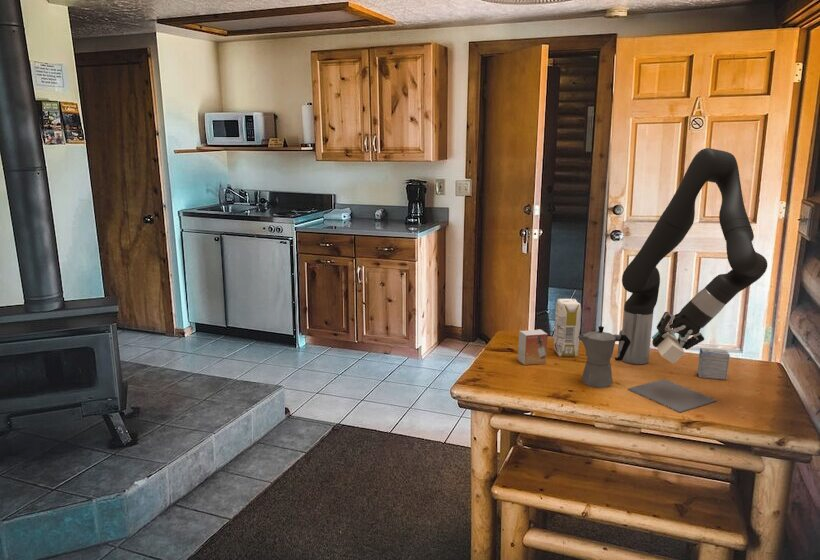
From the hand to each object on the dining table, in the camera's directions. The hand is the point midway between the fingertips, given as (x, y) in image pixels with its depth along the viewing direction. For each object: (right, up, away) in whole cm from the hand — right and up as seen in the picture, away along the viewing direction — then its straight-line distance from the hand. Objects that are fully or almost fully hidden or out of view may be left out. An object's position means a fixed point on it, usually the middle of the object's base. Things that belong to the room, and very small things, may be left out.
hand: (660, 349), depth 175 cm
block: (+1, -1, -6) cm, 7 cm away
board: (+3, -14, +1) cm, 14 cm away
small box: (-32, -8, +27) cm, 43 cm away
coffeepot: (-14, -12, +10) cm, 21 cm away
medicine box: (+23, -11, +15) cm, 29 cm away
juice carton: (-19, -6, +36) cm, 41 cm away
